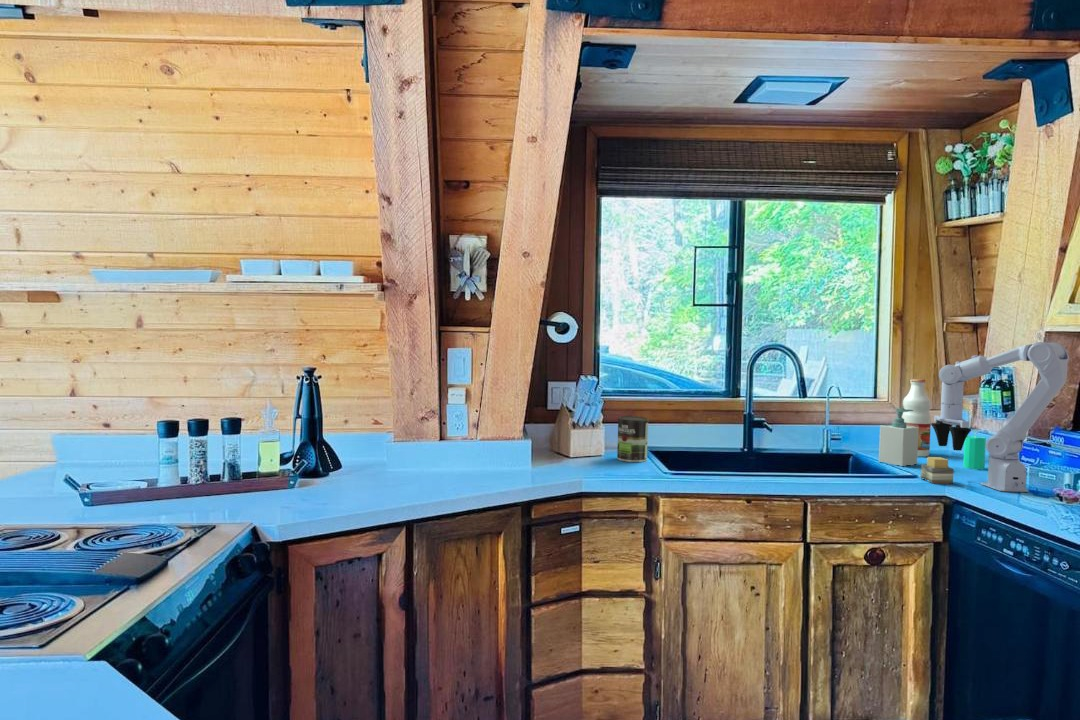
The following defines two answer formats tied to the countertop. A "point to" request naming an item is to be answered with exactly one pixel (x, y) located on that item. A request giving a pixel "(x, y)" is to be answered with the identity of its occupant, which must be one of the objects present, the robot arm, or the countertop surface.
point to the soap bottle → (898, 442)
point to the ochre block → (937, 462)
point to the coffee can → (632, 439)
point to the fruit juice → (919, 414)
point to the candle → (974, 452)
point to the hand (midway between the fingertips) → (949, 448)
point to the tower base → (937, 474)
